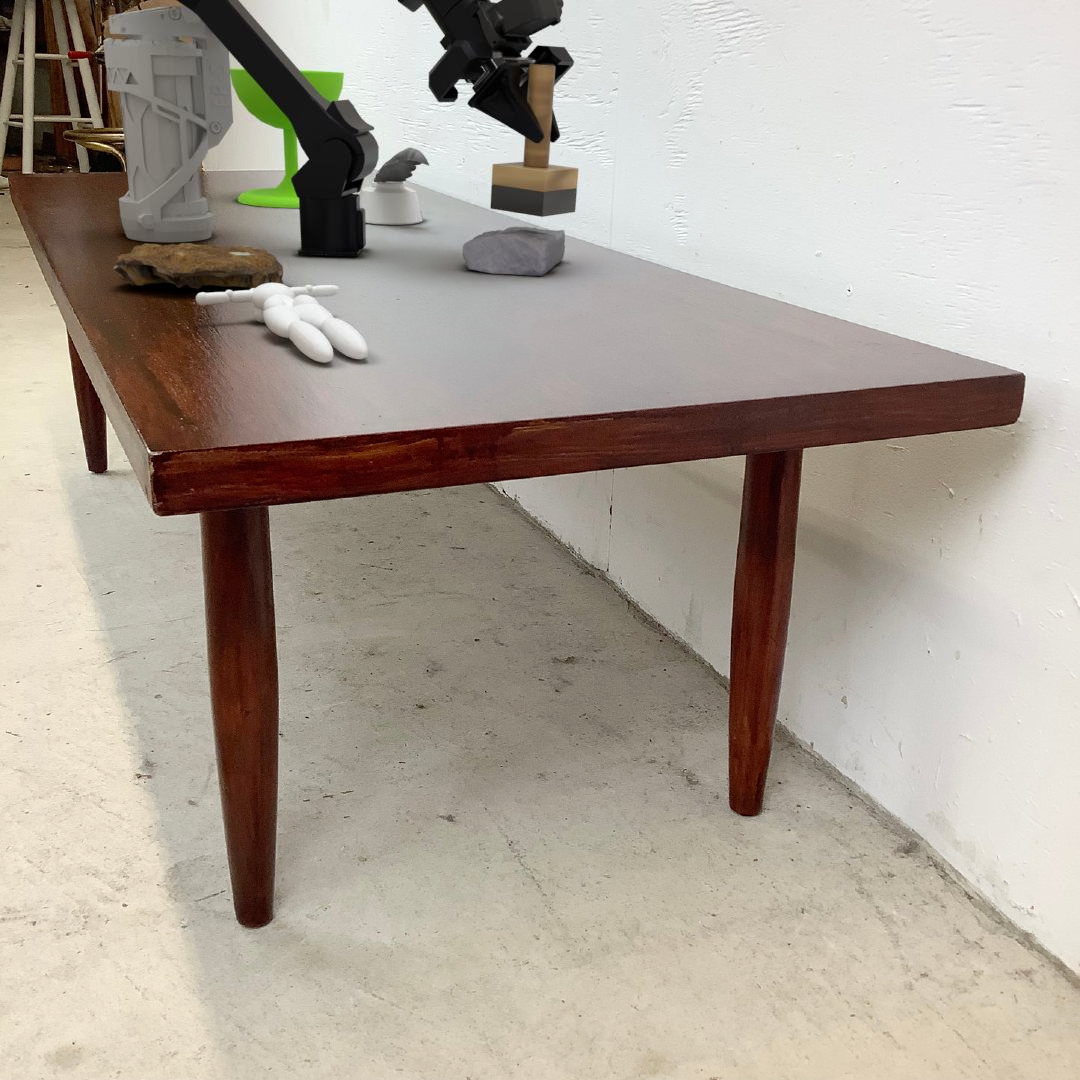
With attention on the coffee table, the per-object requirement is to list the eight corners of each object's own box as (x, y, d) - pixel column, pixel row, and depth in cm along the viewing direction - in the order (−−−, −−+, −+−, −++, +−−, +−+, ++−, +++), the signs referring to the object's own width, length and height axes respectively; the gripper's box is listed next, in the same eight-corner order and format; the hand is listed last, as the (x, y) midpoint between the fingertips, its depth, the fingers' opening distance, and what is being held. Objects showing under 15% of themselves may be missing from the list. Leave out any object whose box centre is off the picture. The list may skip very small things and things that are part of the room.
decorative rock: (124, 307, 100) (294, 303, 107) (121, 259, 99) (294, 259, 105) (106, 276, 110) (264, 275, 116) (103, 232, 108) (264, 234, 114)
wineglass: (337, 209, 165) (333, 73, 158) (225, 205, 165) (216, 69, 158) (355, 197, 180) (352, 72, 173) (252, 193, 180) (245, 68, 173)
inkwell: (405, 215, 162) (404, 139, 158) (466, 232, 148) (466, 150, 144) (343, 217, 157) (341, 139, 154) (400, 235, 143) (399, 151, 140)
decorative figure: (422, 336, 85) (332, 268, 98) (262, 350, 79) (189, 276, 93) (420, 380, 87) (332, 307, 100) (263, 398, 81) (191, 318, 94)
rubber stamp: (542, 216, 116) (552, 66, 111) (490, 208, 119) (497, 62, 114) (575, 212, 121) (586, 68, 116) (524, 204, 124) (532, 63, 119)
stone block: (459, 287, 121) (551, 275, 119) (451, 241, 120) (544, 227, 118) (486, 274, 132) (571, 262, 130) (479, 231, 131) (565, 218, 129)
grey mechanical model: (135, 244, 130) (112, -2, 120) (113, 231, 138) (89, 0, 128) (248, 239, 136) (234, 5, 126) (220, 227, 144) (205, 7, 135)
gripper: (457, -57, 105) (551, 83, 104) (564, -38, 120) (647, 85, 119) (388, 32, 112) (476, 164, 111) (498, 40, 127) (576, 156, 126)
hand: (548, 140), depth 117 cm, fingers closed on rubber stamp, 2 cm apart
